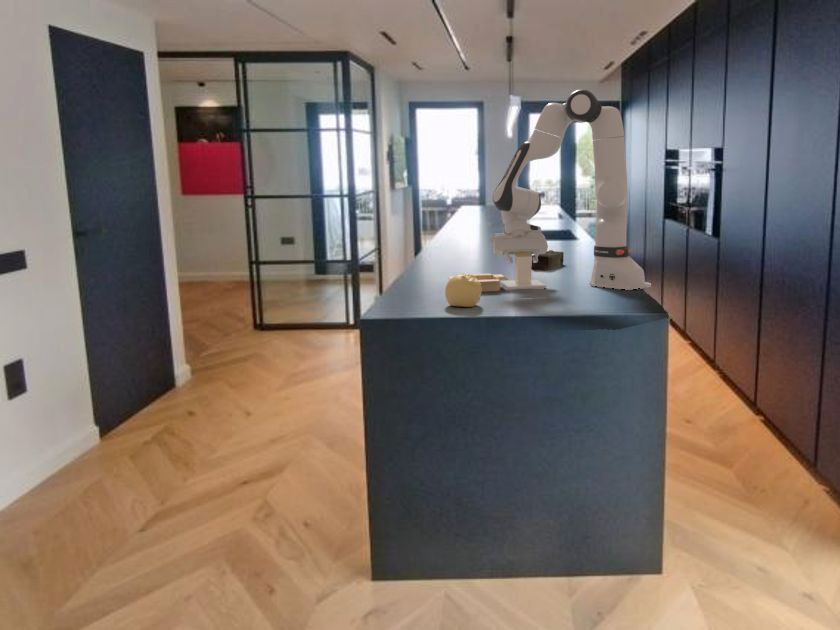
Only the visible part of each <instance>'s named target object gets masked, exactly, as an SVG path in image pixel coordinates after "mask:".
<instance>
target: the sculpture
mask: <svg viewBox="0 0 840 630" xmlns="http://www.w3.org/2000/svg"><path fill="white" fill-rule="evenodd" d="M472 274H473V273H468V274H467V273H462V272H461V273H460V274H456V275H457V276H456V275H453V276H454V277H453V278H451V279H449V280H448V281H447V283H446V285H445V291H444V292H445V293H444V295H445V298H446V301H447V303H448V304H449V306H453V307H464V308H472V307H475V306H476V305H477V304H479V302H480V300H481V297H482V293H483V292H482V287H481V283H479V282H478V279H477V278H476V277H474V276H473V275H472Z"/></svg>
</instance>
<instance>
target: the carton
mask: <svg viewBox="0 0 840 630" xmlns="http://www.w3.org/2000/svg"><path fill="white" fill-rule="evenodd" d="M471 274H472V275H473V276H474V277H476V278H477V279H478V282H479V283H481V287H482V292H481V293H483V292H500V290H501V288H500V287H501V283H500V281H509V278H507V277H506V276H504V275H503V274H500V273H499V274H491V273H490V272H489V273H471ZM457 275H458V274H455V275H452V276H449V275H448V276H447V278H448V279H449V280H450V279H451V278H453V277H454V276H457Z"/></svg>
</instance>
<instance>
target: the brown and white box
mask: <svg viewBox="0 0 840 630" xmlns="http://www.w3.org/2000/svg"><path fill="white" fill-rule="evenodd" d="M532 255H533V254H530V253H515V255H514V280H515V283H517V284H531V280H532V269H531V265H532Z"/></svg>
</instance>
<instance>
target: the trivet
mask: <svg viewBox="0 0 840 630" xmlns="http://www.w3.org/2000/svg"><path fill="white" fill-rule="evenodd" d="M500 285H501V286H503V287H505V288H506V289H507V290H528V289H529V290H530V289H534V290H545V289H544V288H546V289H547V284H545V283H544V282H541V281H540V280H538V279H536V278H535V279H531V284H517V283H515V279H513V280H509V279H508V280H500Z"/></svg>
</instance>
